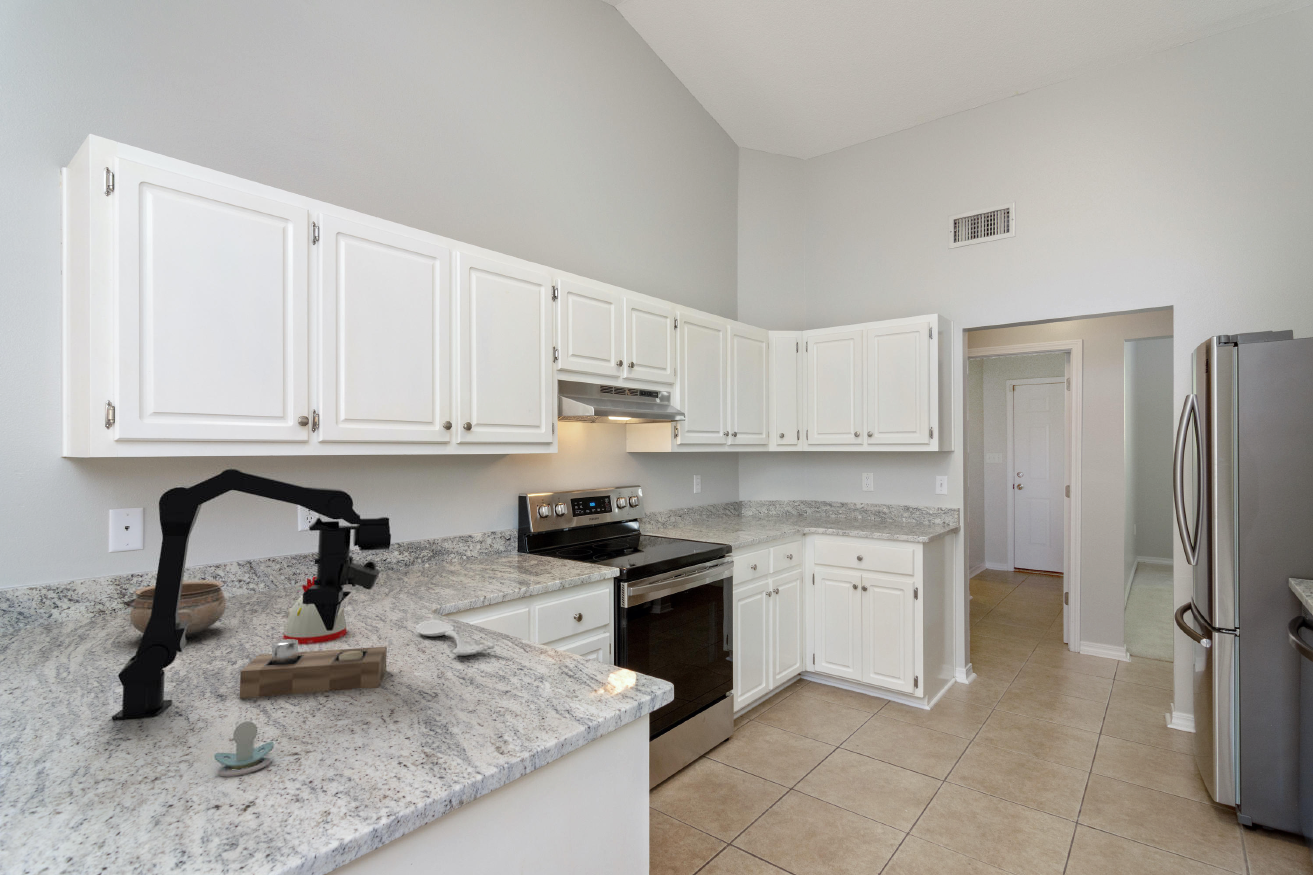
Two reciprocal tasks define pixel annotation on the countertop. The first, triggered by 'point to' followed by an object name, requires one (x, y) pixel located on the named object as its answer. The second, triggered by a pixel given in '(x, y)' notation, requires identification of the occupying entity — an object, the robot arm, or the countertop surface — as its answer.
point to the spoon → (447, 629)
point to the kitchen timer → (311, 622)
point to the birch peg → (351, 655)
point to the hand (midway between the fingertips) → (330, 630)
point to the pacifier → (244, 752)
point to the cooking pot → (184, 606)
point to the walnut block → (313, 673)
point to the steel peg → (285, 652)
